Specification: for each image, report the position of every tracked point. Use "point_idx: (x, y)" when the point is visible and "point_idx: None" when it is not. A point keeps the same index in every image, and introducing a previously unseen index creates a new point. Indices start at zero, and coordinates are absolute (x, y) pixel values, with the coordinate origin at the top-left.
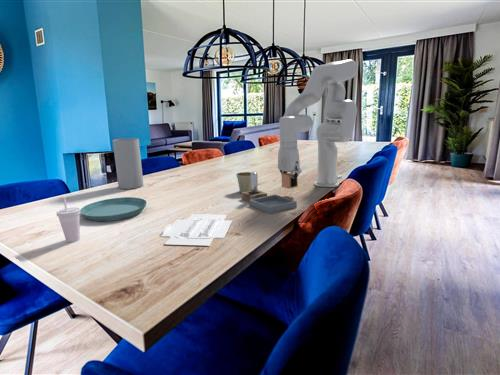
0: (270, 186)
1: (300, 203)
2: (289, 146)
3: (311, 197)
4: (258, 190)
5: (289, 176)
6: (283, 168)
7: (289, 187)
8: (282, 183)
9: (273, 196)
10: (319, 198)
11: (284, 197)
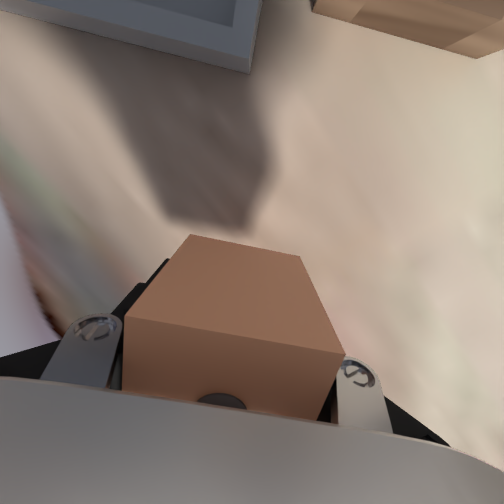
0: (477, 353)
1: (26, 128)
2: None
3: (104, 300)
4: (500, 11)
5: (132, 317)
6: (282, 492)
7: (187, 242)
8: (294, 269)
9: (236, 5)
10: (57, 309)
11: (83, 12)
